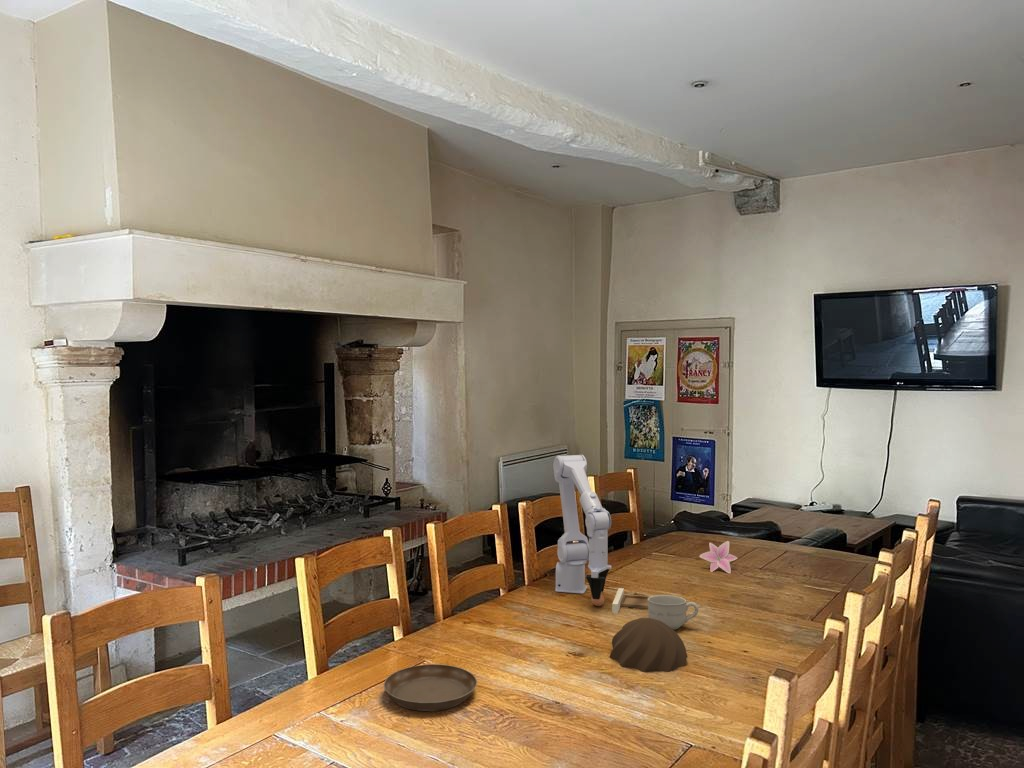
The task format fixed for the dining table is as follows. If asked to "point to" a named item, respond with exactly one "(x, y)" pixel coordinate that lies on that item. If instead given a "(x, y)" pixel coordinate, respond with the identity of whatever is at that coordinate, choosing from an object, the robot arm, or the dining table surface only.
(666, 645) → the decorative dome
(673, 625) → the teacup
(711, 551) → the lily
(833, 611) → the dining table surface
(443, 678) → the plant saucer
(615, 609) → the strip
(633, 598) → the tray
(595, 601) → the ball
